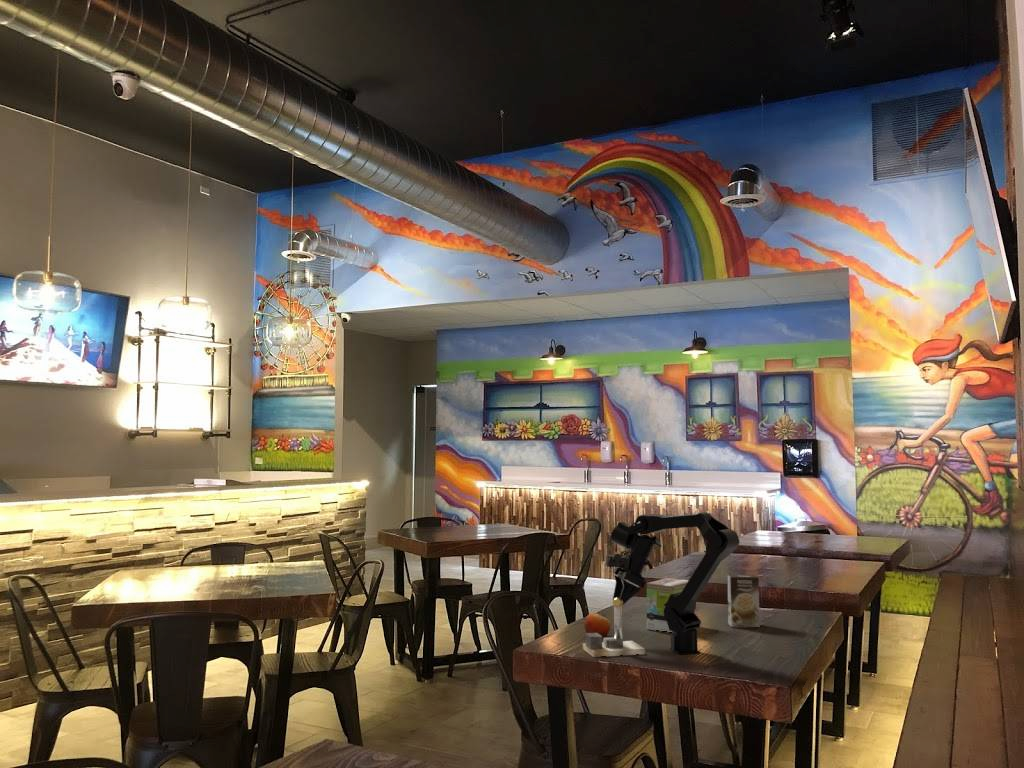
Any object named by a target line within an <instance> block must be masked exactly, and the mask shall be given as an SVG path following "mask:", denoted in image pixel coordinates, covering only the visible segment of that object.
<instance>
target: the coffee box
mask: <svg viewBox="0 0 1024 768" xmlns="http://www.w3.org/2000/svg"><path fill="white" fill-rule="evenodd" d="M759 581H760V579H759V576H757V575H755V574H743V573H742V574H740V573H739V574H735V573H733V574H732V573H727V624H728V625H729V626H730V627H731V628H747V627H759V628H760V589H759V588H760V586H759V584H760V582H759Z"/></svg>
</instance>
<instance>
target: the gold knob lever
mask: <svg viewBox="0 0 1024 768" xmlns="http://www.w3.org/2000/svg"><path fill="white" fill-rule="evenodd" d="M612 606H613V619H614V620H613V622H614V624H613V626H614V627H613V630H614V636H613V637H614V638H603V637H602V642H603V646H605V647H608V640H623V610H622V609H623V608H622V607H623V606H624V605H623V600H622V599H621V598H619V597H616V598H614V599H613V598H612Z"/></svg>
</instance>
